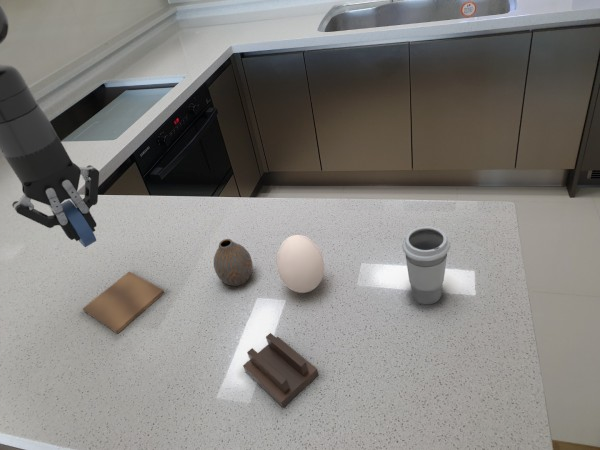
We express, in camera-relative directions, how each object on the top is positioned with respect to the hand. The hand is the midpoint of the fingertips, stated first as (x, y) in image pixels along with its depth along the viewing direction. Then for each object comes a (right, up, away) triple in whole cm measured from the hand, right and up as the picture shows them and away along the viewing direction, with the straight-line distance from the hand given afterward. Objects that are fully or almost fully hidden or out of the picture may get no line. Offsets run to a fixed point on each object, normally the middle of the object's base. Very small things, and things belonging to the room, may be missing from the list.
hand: (84, 233), depth 76 cm
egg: (+37, -10, +5) cm, 38 cm away
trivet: (+3, -13, +10) cm, 17 cm away
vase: (+24, -9, +10) cm, 28 cm away
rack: (+33, -21, -8) cm, 40 cm away
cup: (+57, -10, -1) cm, 57 cm away
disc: (-1, +2, 0) cm, 2 cm away
